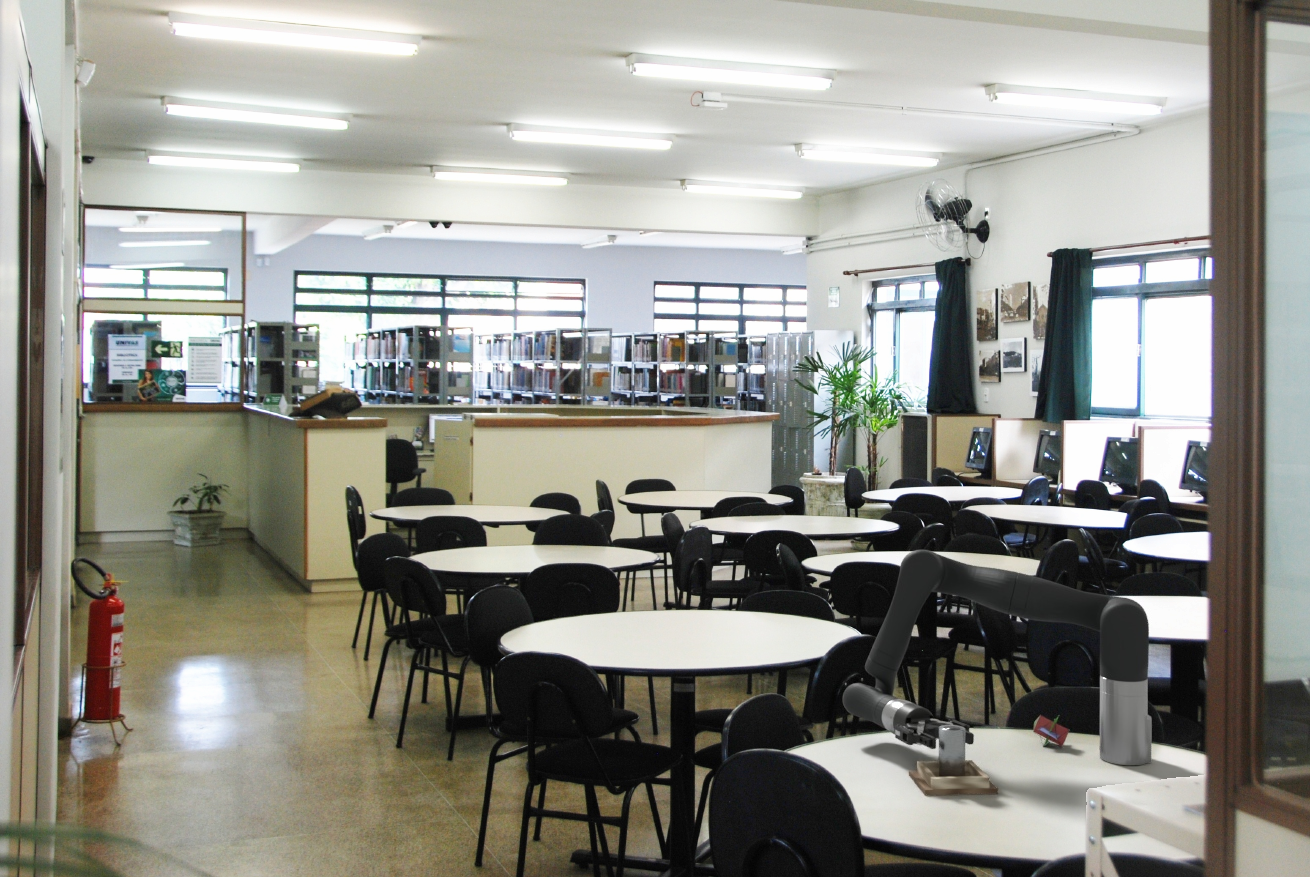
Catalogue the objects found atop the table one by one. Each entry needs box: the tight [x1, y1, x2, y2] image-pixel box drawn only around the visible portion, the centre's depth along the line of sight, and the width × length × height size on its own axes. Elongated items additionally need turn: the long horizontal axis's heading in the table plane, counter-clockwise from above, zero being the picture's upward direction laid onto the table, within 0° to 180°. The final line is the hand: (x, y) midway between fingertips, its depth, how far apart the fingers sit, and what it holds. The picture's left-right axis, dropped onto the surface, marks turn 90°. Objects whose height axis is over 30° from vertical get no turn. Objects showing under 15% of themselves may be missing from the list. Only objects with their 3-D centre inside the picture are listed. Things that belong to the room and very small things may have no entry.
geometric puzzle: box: [1032, 714, 1070, 748], centre depth 255 cm, size 7×7×8 cm
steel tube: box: [938, 725, 966, 777], centre depth 229 cm, size 5×5×10 cm
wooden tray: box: [908, 759, 999, 796], centre depth 229 cm, size 14×12×3 cm
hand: (953, 741), depth 229 cm, fingers open, 8 cm apart
